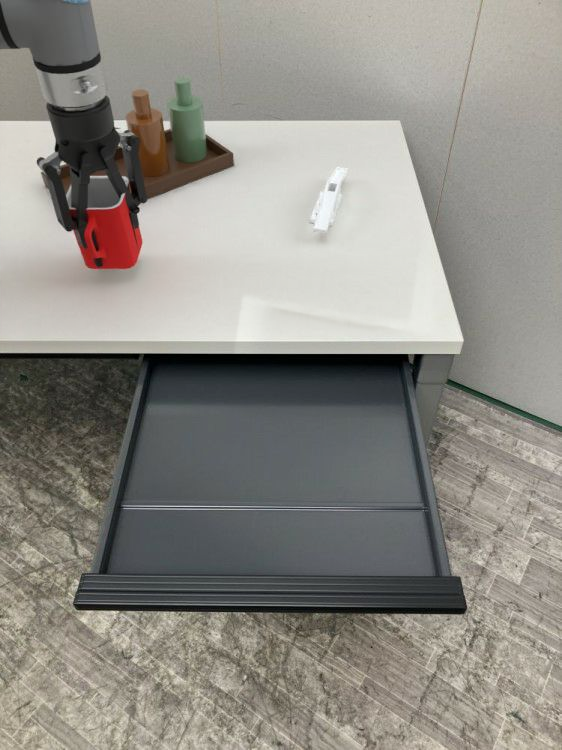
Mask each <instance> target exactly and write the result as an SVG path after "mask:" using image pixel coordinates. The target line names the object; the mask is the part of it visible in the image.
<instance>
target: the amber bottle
mask: <svg viewBox="0 0 562 750" xmlns="http://www.w3.org/2000/svg"><path fill="white" fill-rule="evenodd" d="M131 98H132V104H133V109H132V110H130V111H128V112H127V113H126V114H125V117H124V118H125V123H126V128H127V129H126V130H130V131H131V132H132V133H133V134H135V135H136V136H137V137H138V138H139V139H140V145H139V153H138V154H139V159H140V164H141V169H142V174H143V176H146V177H155V176H160V175H163V174H165V173H166V172H167V171H168V170H169V168H170V165H169V159H168V152H167V145H166V138H165V125H164V118H163V114H162V112H161V110H159V109H156V108H153V107H151V102H150V96H149V91H148V90H147V89H136V90H133V91H132V92H131Z"/></svg>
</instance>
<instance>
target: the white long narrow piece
mask: <svg viewBox="0 0 562 750" xmlns="http://www.w3.org/2000/svg"><path fill="white" fill-rule="evenodd" d="M348 174H349V168H348V167H342V166H336V167H335V169H334V170H333V171H332V173H331V175H330V176H329V178H328V179H327V180H326V183H325V187H324V189H323V190H320V191H319V194H318V196H317V199H316V202H315V204H314V207H313V209H312V212H311V213H310V217H309V219H308V223H309V224H313V227H312V231H313V233H317V234H318V233H319V234H324V235H326V234H328V231H329V227H333V225H334V222H335V219H336V216H337V213H338V210H339V207H340V205H341V202H342V199H343V194H342V193H341V188H342V183H343V182H344V180H345V178H346V176H347V175H348Z"/></svg>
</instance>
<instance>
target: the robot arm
mask: <svg viewBox="0 0 562 750" xmlns="http://www.w3.org/2000/svg"><path fill="white" fill-rule="evenodd" d="M92 8H93V6H92V2H91V0H0V50H20V49H29V51H30V55H31V56H32V61H33V64H34V67H35V71H36V74H37V78H38V82H39V87H40V90H41V94H42V97H43V99H44V101H45V102H46V111H47V114H48V118H49V122H50V125H51V129H52V132H53V135H54V138H55V144H54V148H53V149H54V152H53V153H51V154H50V155H48V156H47V157H46V158H45V157H43V156H39V157H38V158H37V159H36V165H37V166H38V168H39V169H40V170H41V172H43V173H44V174H45V177H46V180H47V184H48V187H49V189H48V191H49V194H50V198H51V202H52V205H53V208H54V212H55V216H56V219H57V222H58V223H59V224H60V226H61V227H62V228H63V229H64V230H65V231H66V232H68V233H71V232H73V230H75V231H76V235H77V238H78V242H79V243H80V244H81V245H82V246H83V247H84V249H87V248H88V247H87V244H86V241H85V230H86V227H87V211H86V210H85V209H87V208H88V184H89V183H90V175H91V174H93V173H95V172H96V171H102V170H104V171H105V173H106V175H107V176H108V178H109V180H110V182H111V184H112V186H113V187H114V189H115V191H116V193H117V195H118V197H119V198H121V195H122V194H123V193H125V200H126V204H127V206H128V208H129V210H130V213H129V217H130V221H131V225H132V228H133V232H134V236H135V239H136V235H135V230H134V228H135V229H137V228H138V227H139V228H140V222H139V217H138V214H139V213H140V211H141V210H140V207H139V205H141V204H142V205H143V204H144V205H145V204H146V203H147V201H148V199H147V194H146V189H145V184H144V179H143V174H142V169H141V164H140V159H139V154H138V153H139V145H140V139H139V138H138V137H137V136H136V135H135V134H133V133H132V132H131V131H130V130H128V129H126V130H124V131H123V132H118V131H117V129H116V127H115V119H114V114H113V110H112V103H111V99H110V97H109V96H108V91H109V90H108V85H107V80H106V74H105V70H104V66H103V65H104V64H103V59H102V56H101V51H100V46H99V40H98V35H97V29H96V22H95V18H94V13H93V9H92ZM118 146H120V147H121V148H122V152H123V157H124V161H125V166H126V170H127V175H128V179H129V184H130V188H131V193H132V194H130V192H129V190H128V188H127V186H126V184H125V182H124V180H123V178H122V176H121V174H120V172H119V169H118V167H117V165H116V163H115V161H114V159H113V158H114V155H115V153H116V150H117V148H118ZM62 162H63V163H64V164H67V165H69V166H70V175H71V207H72V208H75V209H76V212H75V215H74V217H75V218H76V219H75V218H73V217H71V214H70V210H69V206H68V202H67V198H66V194H65V190H64V187H63V183H62V180H61V178H60V176H59V174H60V173H61V167H60V166H61V164H62ZM133 224H134V225H133ZM91 237H92V241H93V244H94V247H95V249H96V251H98V250H99V249H98V245H97V241H96V237H95V233H94V230H93V231H92V234H91ZM136 243H137V240H136ZM137 247H138V245H137ZM138 251H139V250H138ZM94 262H95V265H96V266H97V267H98V268H99V267H101V266H103V264H102V260H101V258H94Z"/></svg>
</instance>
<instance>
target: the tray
mask: <svg viewBox="0 0 562 750" xmlns="http://www.w3.org/2000/svg"><path fill="white" fill-rule="evenodd" d="M164 131H165V138H166V145H167V152H168V159H169V165H170V168H169V170H168V171H167V172H166V173H165V174H163V175H160V176H155V177H146V176H143V179H144V184H145V189H146V194H147V200H149V199H152V198H154V197H157V196H160V195H162V194H164V193H167V192H170V191H172V190H175V189H177V188H180V187H183V186H185V185H188V184H190V183H192V182H196V181H198V180H201V179H203V178H206V177H208V176H211V175H214V174H216V173H219V172H222V171H224V170H227V169H229V168H232V167H234V166H235V163H234V162H235V159H234V158H235V157H234V152H232V151H231V150H230V149H228V148H226V147H225V146H224V145H222V144H221V143H220V142H218V140H217V141H216V140H215V139H214V138H212V137H211V136H209V135H208V134H207V133H205V135H206V146H207V156H206V157H205V158H204V159H202V160H200V161H197V162H182V161H179V160H177V159H176V158H175V156H174V150H173V143H172V135H171V128H169V129H164ZM113 159H114V161H115V163H116V165H117V167H118V169H119V172H120V174H121V176H125V177H127V178H128V175H127V170H126V166H125V161H124V157H123V152H122V148H121V147H120V145H118V148H117V150H116V153H115V155H114V158H113ZM60 167H61V173H60V174H59V176H60V178H61V180H62V183H63V187H64V190H65V194H67V192H68V190H69V187H70V185H71V175H70V166H69V165H67V164H66V163H64V164H60ZM40 175H41V177H42V180H43V181H42V182H43V184H44V186H45V187H46V188H47V189H48V190H49V187H48V184H47V180H46V177H45V174H44V173H43V171H40ZM90 176H107V175H106V173H105V171H104V170H102V171H96V172H95V173H93V174H91V175H90ZM129 189H130V193H131V188H130V184H129ZM131 194H132V193H131Z"/></svg>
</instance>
